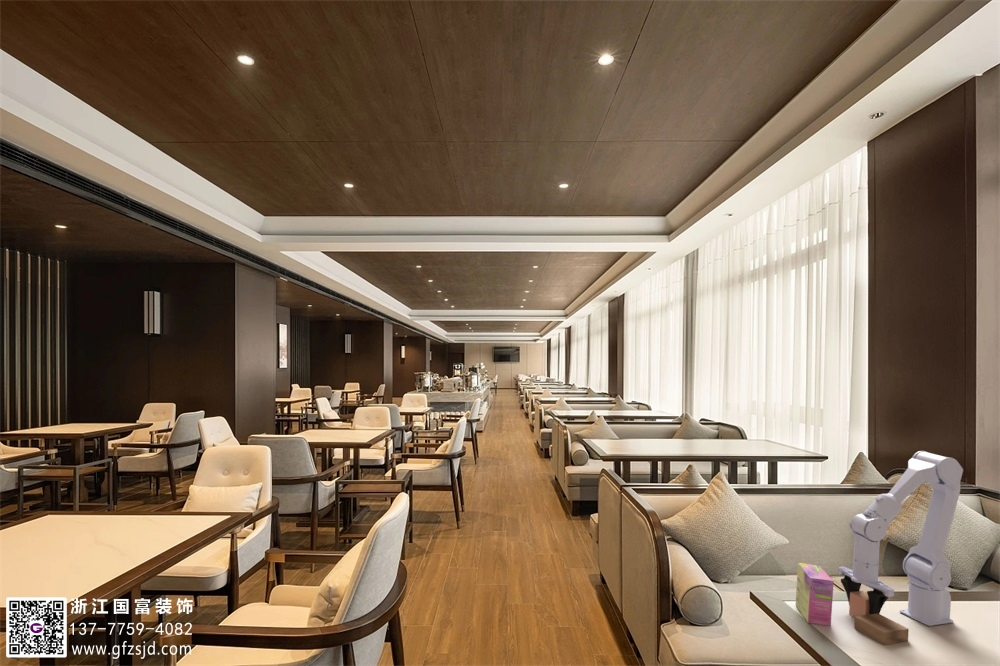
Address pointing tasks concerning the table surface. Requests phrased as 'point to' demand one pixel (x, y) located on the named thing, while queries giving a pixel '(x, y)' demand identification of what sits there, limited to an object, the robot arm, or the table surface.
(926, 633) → the table surface
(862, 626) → the walnut slab
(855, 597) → the peach cube
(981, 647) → the table surface
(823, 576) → the box
